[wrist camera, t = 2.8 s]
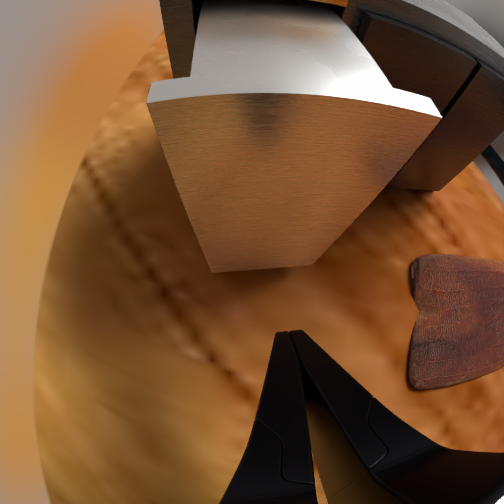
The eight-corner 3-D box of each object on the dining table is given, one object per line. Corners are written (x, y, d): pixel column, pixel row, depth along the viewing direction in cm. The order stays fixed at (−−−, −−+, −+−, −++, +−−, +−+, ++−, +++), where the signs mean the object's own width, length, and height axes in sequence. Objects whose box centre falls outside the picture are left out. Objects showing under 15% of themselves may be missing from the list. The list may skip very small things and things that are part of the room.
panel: (311, 265, 15) (442, 117, 4) (211, 272, 15) (146, 103, 4) (291, 151, 18) (333, -10, 6) (208, 155, 17) (188, -16, 6)
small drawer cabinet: (436, 197, 19) (545, 92, 5) (199, 202, 17) (150, -25, 4) (403, 120, 21) (468, 12, 8) (201, 111, 20) (184, -52, 6)
